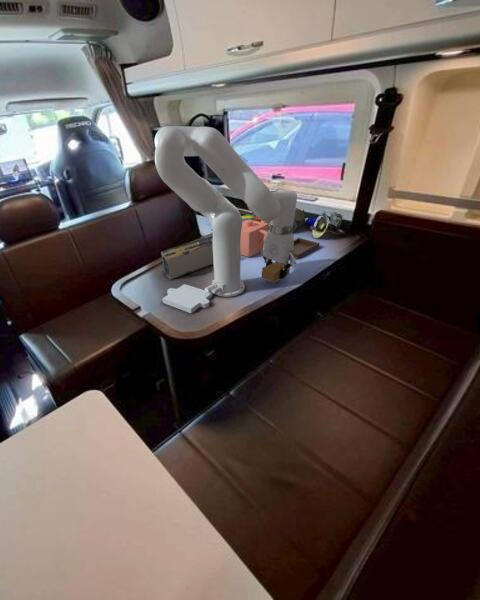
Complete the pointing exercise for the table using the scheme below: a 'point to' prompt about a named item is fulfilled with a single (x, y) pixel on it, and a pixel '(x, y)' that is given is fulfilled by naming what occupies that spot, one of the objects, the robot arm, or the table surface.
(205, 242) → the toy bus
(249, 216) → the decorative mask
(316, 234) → the cream rimmed round part
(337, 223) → the toy vehicle
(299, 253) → the brown wooden tray
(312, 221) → the figurine
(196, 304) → the mounting plate
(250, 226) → the pink jerry can
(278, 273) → the tan rectangular block
